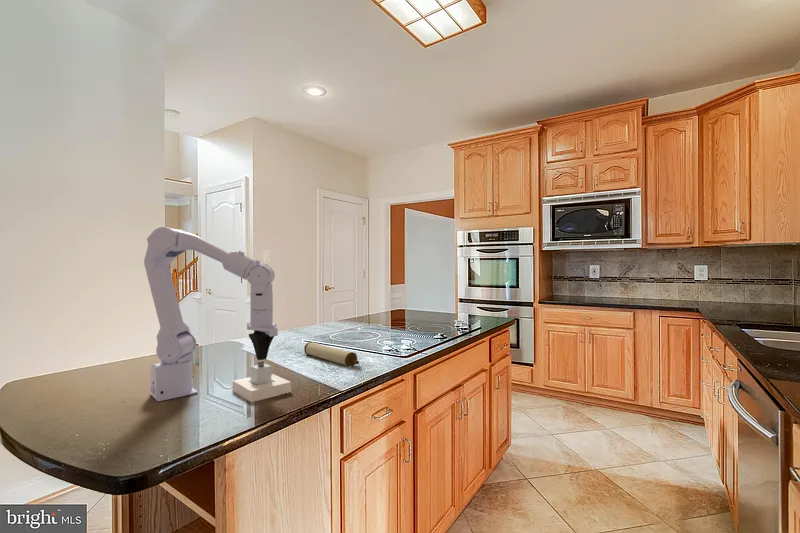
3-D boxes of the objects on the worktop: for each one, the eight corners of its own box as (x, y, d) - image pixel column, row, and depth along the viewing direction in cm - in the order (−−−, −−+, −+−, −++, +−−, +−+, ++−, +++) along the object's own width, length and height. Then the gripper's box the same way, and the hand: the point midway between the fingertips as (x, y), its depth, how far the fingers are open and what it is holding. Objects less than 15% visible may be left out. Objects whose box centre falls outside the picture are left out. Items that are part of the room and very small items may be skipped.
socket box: (251, 402, 99) (251, 389, 99) (232, 390, 108) (232, 379, 108) (291, 392, 107) (291, 380, 107) (270, 382, 116) (270, 371, 116)
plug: (257, 395, 104) (257, 364, 104) (250, 391, 107) (250, 361, 107) (271, 391, 107) (271, 361, 107) (264, 388, 110) (264, 359, 110)
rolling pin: (298, 354, 151) (298, 341, 151) (311, 352, 155) (311, 339, 155) (352, 371, 129) (352, 355, 129) (365, 367, 133) (365, 353, 133)
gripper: (288, 310, 105) (288, 361, 105) (263, 305, 115) (263, 352, 115) (262, 312, 100) (262, 366, 100) (239, 307, 110) (239, 356, 110)
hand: (261, 359), depth 107 cm, fingers closed
